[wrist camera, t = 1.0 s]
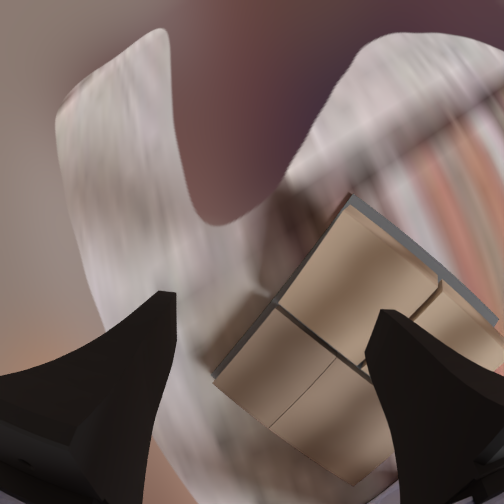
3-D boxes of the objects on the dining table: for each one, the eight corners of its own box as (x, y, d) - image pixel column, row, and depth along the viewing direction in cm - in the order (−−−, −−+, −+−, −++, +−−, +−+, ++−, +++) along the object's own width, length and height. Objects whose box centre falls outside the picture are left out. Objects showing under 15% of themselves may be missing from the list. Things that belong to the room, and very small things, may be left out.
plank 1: (437, 275, 17) (437, 287, 16) (362, 351, 22) (356, 365, 20) (350, 204, 19) (343, 210, 17) (288, 292, 23) (278, 303, 22)
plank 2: (507, 341, 16) (510, 356, 14) (429, 403, 20) (426, 419, 19) (441, 278, 17) (442, 291, 16) (366, 354, 22) (360, 369, 20)
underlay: (497, 318, 19) (499, 319, 19) (353, 479, 21) (353, 481, 21) (352, 194, 23) (353, 193, 23) (212, 373, 25) (210, 374, 25)
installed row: (418, 414, 20) (423, 423, 19) (352, 474, 21) (353, 486, 19) (279, 305, 24) (275, 307, 22) (220, 376, 24) (212, 383, 23)
